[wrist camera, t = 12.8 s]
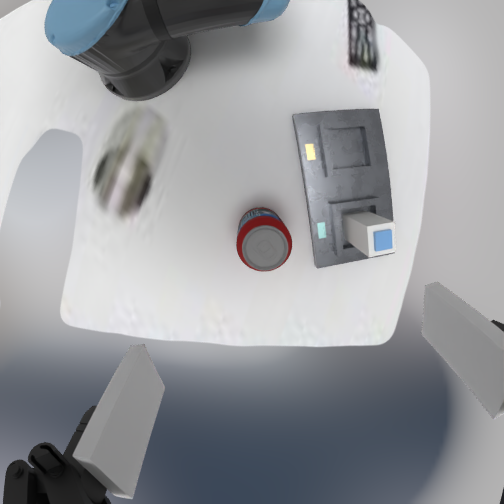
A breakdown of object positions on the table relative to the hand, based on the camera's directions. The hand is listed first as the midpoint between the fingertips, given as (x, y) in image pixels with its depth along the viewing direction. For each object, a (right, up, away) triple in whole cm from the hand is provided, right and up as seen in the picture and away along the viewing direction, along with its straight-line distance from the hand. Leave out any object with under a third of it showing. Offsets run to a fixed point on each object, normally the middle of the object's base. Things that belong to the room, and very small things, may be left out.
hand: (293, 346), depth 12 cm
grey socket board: (+13, +14, +31) cm, 37 cm away
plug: (+14, +8, +32) cm, 36 cm away
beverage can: (-1, +8, +33) cm, 34 cm away
